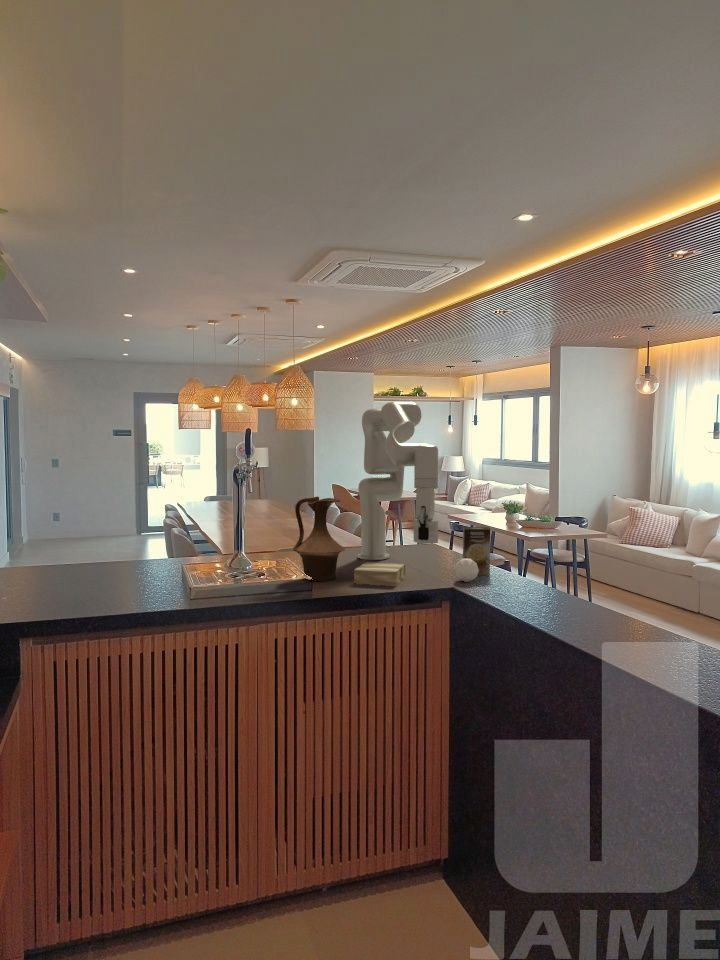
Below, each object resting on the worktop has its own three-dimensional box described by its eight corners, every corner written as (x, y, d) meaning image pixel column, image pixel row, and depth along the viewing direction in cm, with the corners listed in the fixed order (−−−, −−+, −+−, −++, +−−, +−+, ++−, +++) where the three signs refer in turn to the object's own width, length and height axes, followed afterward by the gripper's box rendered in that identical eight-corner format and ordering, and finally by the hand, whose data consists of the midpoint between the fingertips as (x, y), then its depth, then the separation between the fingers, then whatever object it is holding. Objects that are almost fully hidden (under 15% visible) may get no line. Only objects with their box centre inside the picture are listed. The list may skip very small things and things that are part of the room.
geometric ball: (473, 589, 225) (485, 572, 221) (452, 582, 223) (464, 565, 219) (468, 574, 231) (480, 557, 228) (447, 567, 229) (460, 550, 225)
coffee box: (463, 575, 235) (463, 528, 234) (462, 571, 241) (462, 526, 240) (490, 575, 234) (490, 529, 233) (488, 571, 240) (488, 526, 239)
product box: (430, 540, 224) (430, 518, 224) (438, 543, 219) (438, 520, 218) (413, 541, 222) (413, 519, 221) (421, 544, 216) (421, 521, 216)
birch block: (365, 576, 236) (365, 562, 236) (405, 578, 232) (405, 563, 232) (354, 585, 223) (354, 570, 223) (396, 587, 219) (395, 572, 219)
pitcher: (296, 585, 222) (295, 499, 220) (290, 574, 239) (289, 494, 237) (349, 582, 226) (348, 497, 224) (340, 572, 242) (339, 493, 240)
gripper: (419, 480, 228) (418, 532, 229) (409, 485, 211) (409, 541, 213) (441, 481, 226) (441, 533, 228) (433, 486, 209) (433, 542, 211)
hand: (425, 537), depth 220 cm, fingers closed on product box, 8 cm apart
